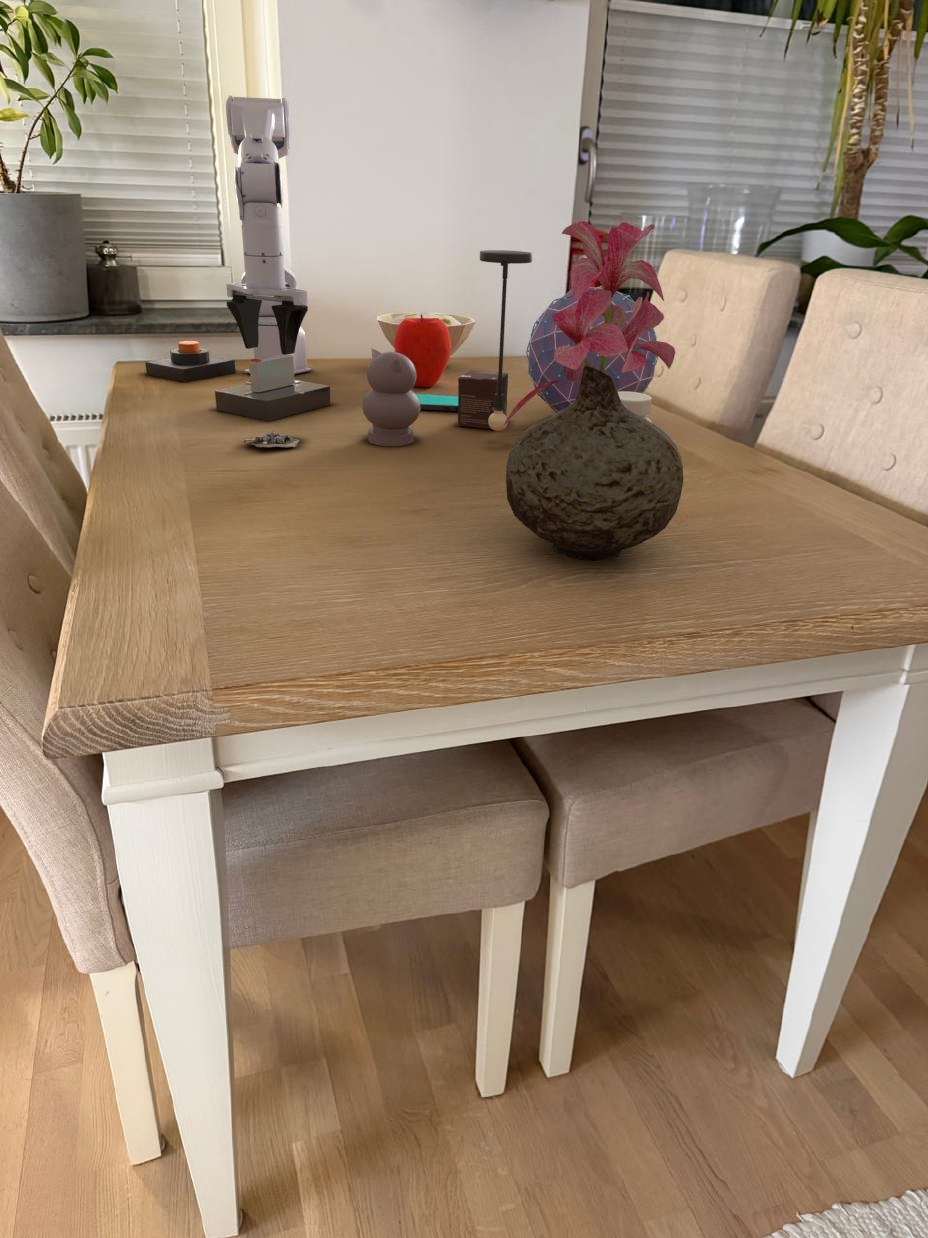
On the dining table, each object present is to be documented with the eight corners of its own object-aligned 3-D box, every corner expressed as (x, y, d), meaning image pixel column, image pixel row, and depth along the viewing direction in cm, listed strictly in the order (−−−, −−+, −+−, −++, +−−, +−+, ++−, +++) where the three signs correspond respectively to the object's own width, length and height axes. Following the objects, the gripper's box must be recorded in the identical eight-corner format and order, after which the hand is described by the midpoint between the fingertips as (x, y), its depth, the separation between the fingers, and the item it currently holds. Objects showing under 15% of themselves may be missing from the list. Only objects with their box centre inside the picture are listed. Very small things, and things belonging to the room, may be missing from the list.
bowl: (387, 355, 184) (387, 304, 180) (480, 360, 182) (482, 308, 178) (365, 372, 167) (364, 316, 163) (467, 378, 165) (469, 322, 160)
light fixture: (468, 439, 126) (474, 249, 115) (513, 438, 127) (523, 250, 116) (479, 452, 120) (487, 253, 109) (526, 451, 122) (539, 254, 111)
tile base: (277, 394, 148) (276, 375, 147) (333, 405, 143) (332, 385, 141) (213, 409, 138) (211, 388, 136) (271, 421, 132) (270, 400, 130)
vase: (701, 549, 90) (752, 227, 77) (602, 600, 79) (641, 230, 66) (568, 509, 101) (593, 217, 87) (463, 548, 89) (473, 219, 76)
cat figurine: (431, 444, 123) (432, 355, 118) (380, 451, 120) (379, 359, 114) (401, 430, 130) (401, 345, 124) (352, 436, 126) (350, 348, 121)
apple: (441, 378, 164) (442, 309, 159) (457, 390, 156) (459, 317, 150) (388, 380, 161) (388, 309, 156) (402, 392, 153) (402, 317, 147)
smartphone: (401, 393, 148) (491, 397, 147) (401, 398, 148) (491, 402, 147) (394, 403, 141) (489, 407, 140) (394, 408, 141) (489, 412, 140)
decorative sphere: (610, 388, 120) (532, 272, 123) (550, 464, 138) (483, 360, 141) (709, 349, 129) (634, 241, 132) (641, 424, 147) (576, 328, 150)
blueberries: (233, 445, 120) (232, 431, 119) (280, 434, 125) (279, 421, 125) (265, 455, 116) (264, 441, 115) (312, 444, 122) (311, 430, 121)
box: (507, 421, 136) (509, 372, 133) (495, 430, 131) (497, 380, 128) (469, 417, 138) (471, 369, 135) (456, 426, 133) (457, 376, 130)
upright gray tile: (287, 383, 142) (285, 352, 140) (294, 384, 141) (293, 353, 139) (251, 391, 136) (248, 359, 134) (258, 392, 135) (256, 360, 133)
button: (190, 349, 163) (189, 339, 162) (204, 352, 161) (203, 342, 160) (174, 352, 160) (173, 342, 159) (188, 354, 158) (187, 344, 157)
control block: (197, 364, 169) (195, 343, 167) (235, 371, 164) (233, 349, 162) (146, 374, 160) (143, 351, 158) (184, 381, 155) (182, 358, 153)
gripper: (208, 252, 131) (216, 348, 137) (281, 259, 124) (286, 359, 130) (243, 250, 136) (250, 342, 142) (315, 257, 129) (319, 353, 135)
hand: (269, 350), depth 136 cm, fingers open, 7 cm apart
